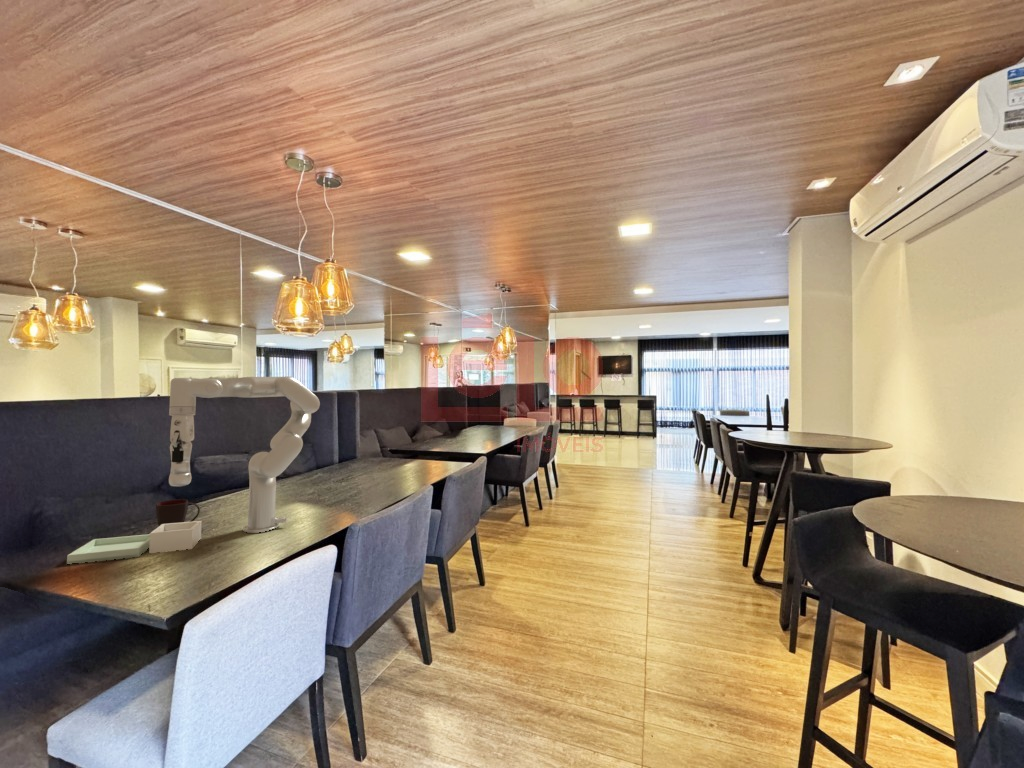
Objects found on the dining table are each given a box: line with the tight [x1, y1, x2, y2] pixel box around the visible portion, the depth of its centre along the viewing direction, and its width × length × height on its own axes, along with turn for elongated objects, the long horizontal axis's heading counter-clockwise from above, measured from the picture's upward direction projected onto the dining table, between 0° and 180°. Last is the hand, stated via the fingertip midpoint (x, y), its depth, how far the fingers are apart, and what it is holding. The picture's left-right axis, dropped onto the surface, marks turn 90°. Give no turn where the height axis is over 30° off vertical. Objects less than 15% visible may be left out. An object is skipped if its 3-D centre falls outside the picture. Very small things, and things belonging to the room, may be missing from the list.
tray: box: [66, 533, 150, 565], centre depth 142 cm, size 18×16×3 cm
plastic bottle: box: [168, 441, 193, 488], centre depth 150 cm, size 6×7×20 cm
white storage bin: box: [148, 520, 202, 554], centre depth 149 cm, size 12×11×7 cm
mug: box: [155, 498, 201, 527], centre depth 165 cm, size 10×14×12 cm
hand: (180, 460), depth 150 cm, fingers closed on plastic bottle, 6 cm apart
